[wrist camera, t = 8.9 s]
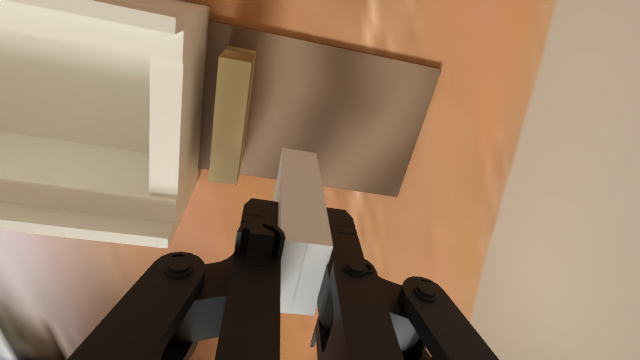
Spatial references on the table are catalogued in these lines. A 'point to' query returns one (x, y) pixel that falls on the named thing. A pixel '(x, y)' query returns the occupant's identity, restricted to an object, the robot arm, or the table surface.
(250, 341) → the robot arm
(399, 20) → the table surface
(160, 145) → the box
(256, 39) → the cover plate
